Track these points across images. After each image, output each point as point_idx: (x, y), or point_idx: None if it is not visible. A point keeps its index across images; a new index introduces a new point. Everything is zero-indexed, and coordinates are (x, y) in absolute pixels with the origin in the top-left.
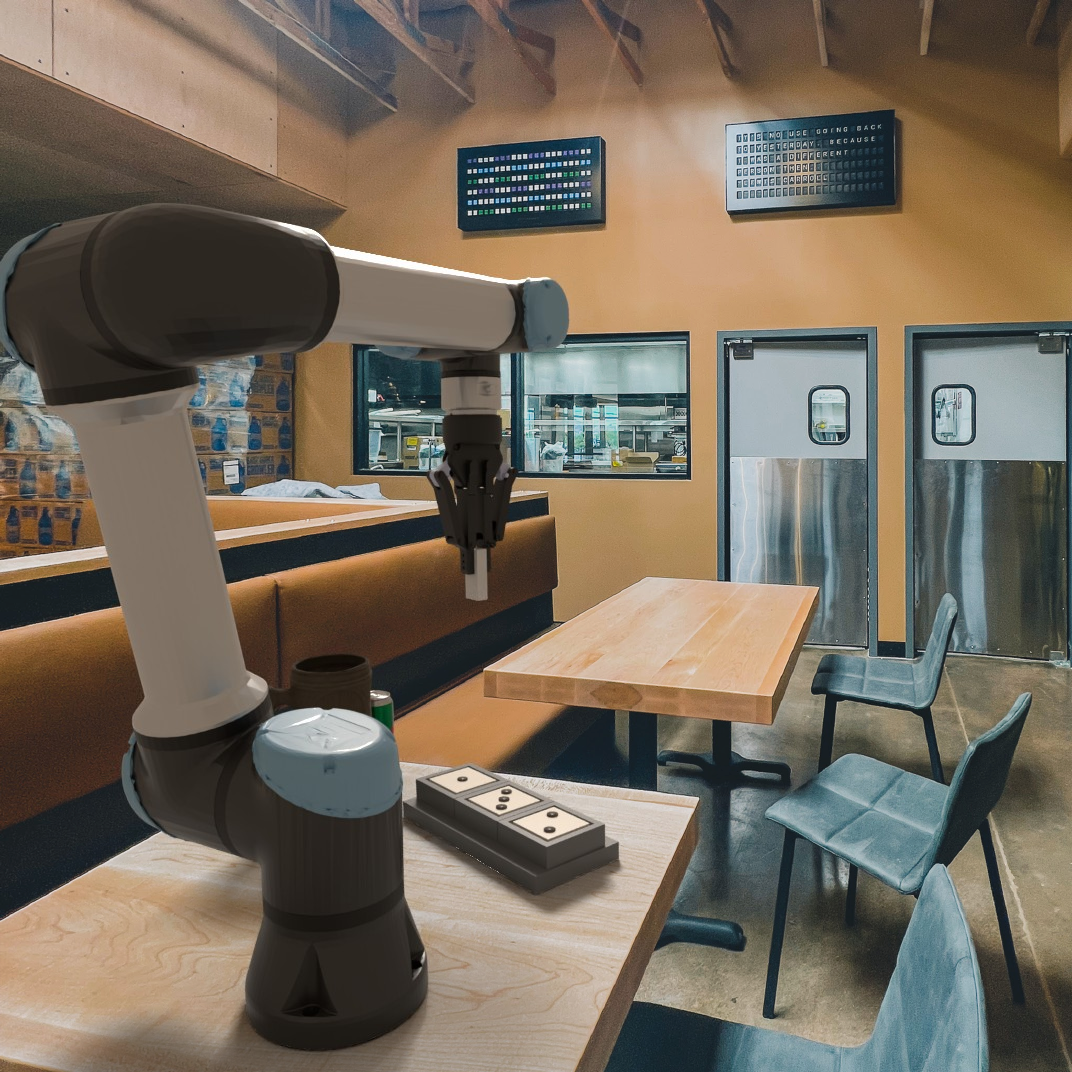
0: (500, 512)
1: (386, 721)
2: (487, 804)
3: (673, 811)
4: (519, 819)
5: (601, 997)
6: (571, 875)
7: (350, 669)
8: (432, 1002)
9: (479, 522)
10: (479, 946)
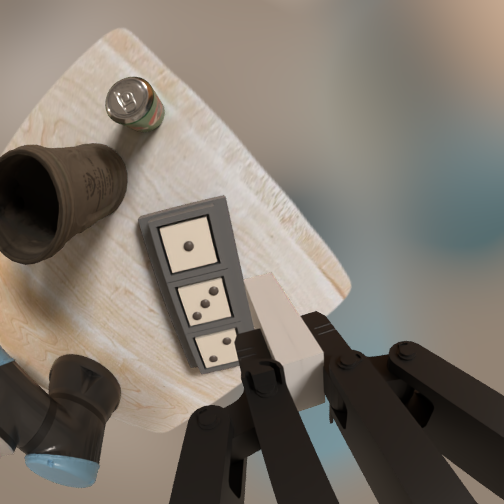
0: (444, 454)
1: (140, 124)
2: (188, 306)
3: (331, 300)
4: (201, 338)
5: (185, 420)
6: None
7: (37, 261)
8: (121, 401)
9: (364, 454)
10: (147, 383)
